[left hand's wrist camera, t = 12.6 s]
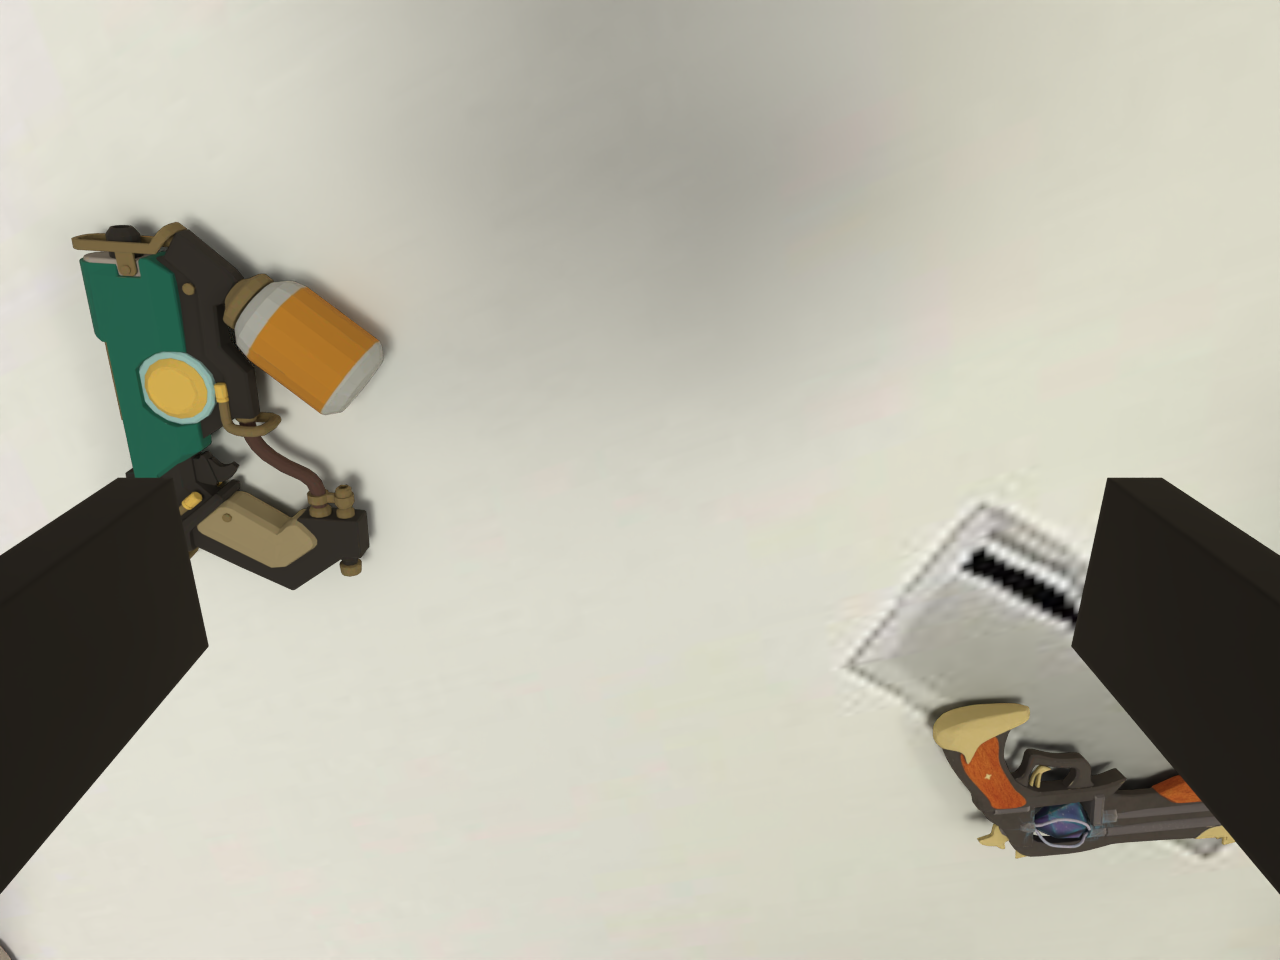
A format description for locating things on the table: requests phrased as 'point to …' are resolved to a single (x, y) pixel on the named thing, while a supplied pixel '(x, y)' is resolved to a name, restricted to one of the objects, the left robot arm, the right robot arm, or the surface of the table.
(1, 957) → the bust sculpture
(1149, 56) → the table surface
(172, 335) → the spray gun
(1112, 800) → the toy gun
